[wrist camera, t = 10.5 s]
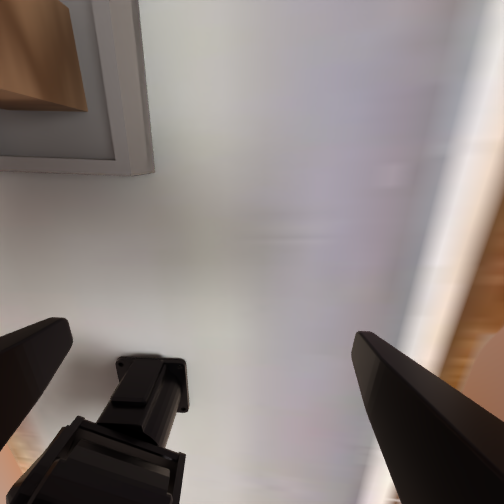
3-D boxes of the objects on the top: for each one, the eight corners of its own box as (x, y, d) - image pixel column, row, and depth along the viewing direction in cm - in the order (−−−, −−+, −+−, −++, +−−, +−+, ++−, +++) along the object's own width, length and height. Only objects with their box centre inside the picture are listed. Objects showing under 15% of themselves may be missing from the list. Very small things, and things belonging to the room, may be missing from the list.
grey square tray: (155, 172, 18) (131, 176, 14) (-14, 165, 18) (-75, 167, 14) (132, -63, 13) (91, -134, 10) (-90, -70, 13) (-202, -142, 10)
